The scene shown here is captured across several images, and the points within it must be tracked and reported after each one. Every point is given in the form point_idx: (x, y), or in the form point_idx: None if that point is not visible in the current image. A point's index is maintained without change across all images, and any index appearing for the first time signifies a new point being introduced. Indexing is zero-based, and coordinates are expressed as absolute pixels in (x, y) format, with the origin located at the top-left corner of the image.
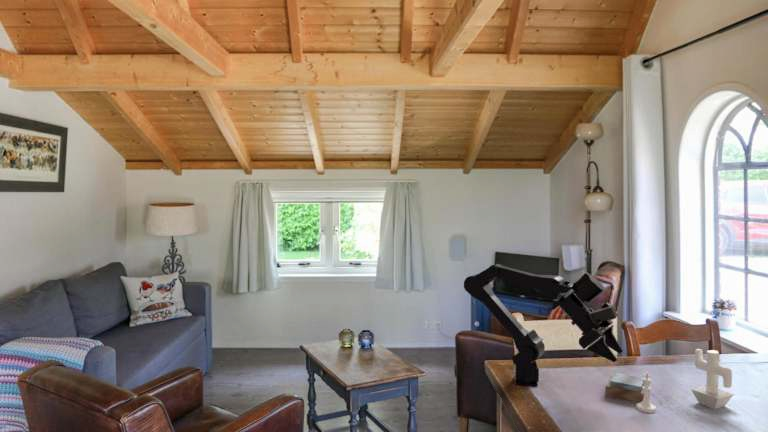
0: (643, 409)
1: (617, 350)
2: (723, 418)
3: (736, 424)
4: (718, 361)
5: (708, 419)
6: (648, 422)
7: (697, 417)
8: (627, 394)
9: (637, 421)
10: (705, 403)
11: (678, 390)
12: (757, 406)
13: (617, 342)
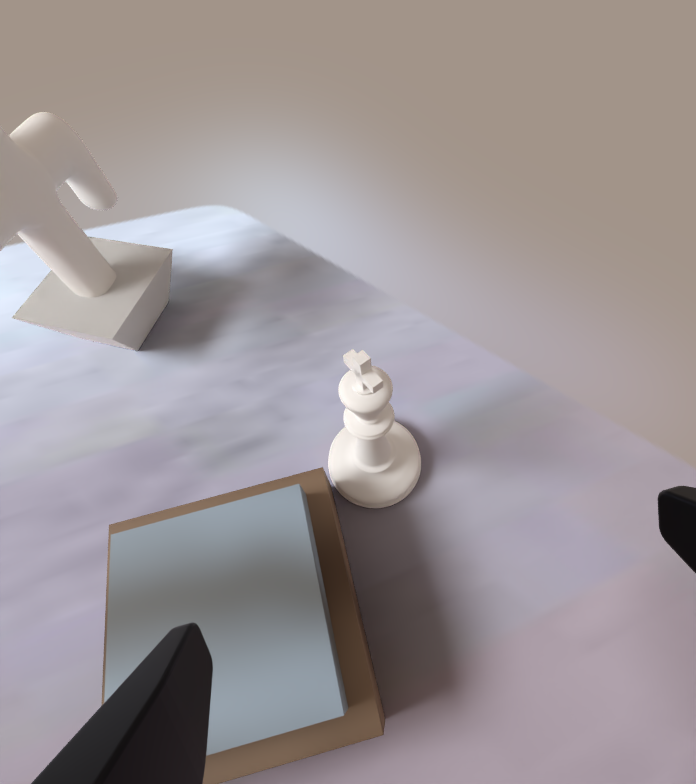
0: (418, 453)
1: (201, 707)
2: (243, 264)
3: (267, 233)
4: None
5: (290, 285)
6: (518, 396)
7: (300, 309)
8: (347, 566)
9: (555, 429)
10: (150, 323)
11: (17, 452)
12: None
13: (71, 769)
